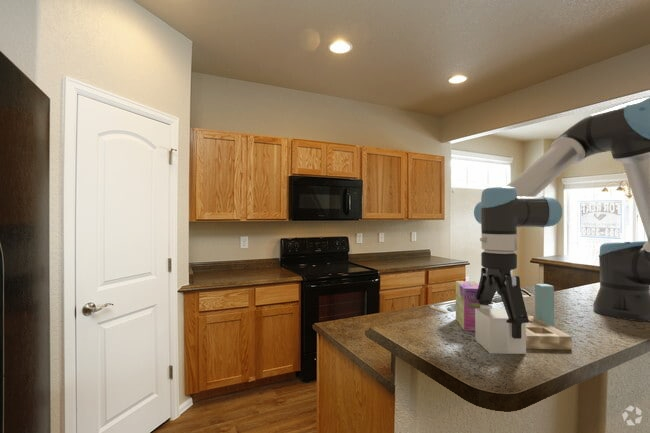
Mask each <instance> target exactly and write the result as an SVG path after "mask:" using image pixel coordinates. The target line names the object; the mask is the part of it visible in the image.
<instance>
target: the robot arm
mask: <svg viewBox="0 0 650 433" xmlns="http://www.w3.org/2000/svg"><path fill="white" fill-rule="evenodd" d="M607 152H610V153H611V155H612V160H614V161H618V162H619V163H621V164H622V166H623V168H624V171H625V175H626V178H627V182H628V184H629V186H630V190H631V193H632V196H633V200H634V202H635V204H636V207H637V211H638V213H639V214H638V215H639V217H640V220H641V223H642V226H643V229H644V232H645V235H646V239H647V240H640V241H619V242H605V243H602V244H601V245H600V247H599V254H598V260H599V289H598V291H597V294H596V296H595V299H594V301H593V311H594V312H596V313H598V314H601V315H605V316H608V317H612V318H618V319H623V320H630V321H640V322H641V321H642V322H650V97H649V96H648V97H645V98H642V99H636V100H632V101H630V102H626V103H624V104H621V105H618V106H614V107H611V108H609V109H605V110H603V111H599V112H595V113H593V114H590V115H588V116H586V117H584V118H582V119H581V120H579V121H577V122H575V123H574V125H572V126H570V127H569V128H568V129H566V131H565V130H564V132H562V133H561V134H560V135H558V137H557V138H555V140H552V142H551V145H550V148H549V149H548V150H547V151H545V152H544V153H543V154H542V155H540V157H539V158H537V159H536V160H535V161H534V162H533V163H531V164H530V165H529V166H528V167H527V168H526V169H524V171H522V172H521V173H520V174H519V175H518V176H516V177H515V178H514V179H513V180H512V181H511V182H510V183H508V184H507V185H506V186H502V187H501V186H498V187H487V188H484V189H483V190H482V192H481V196H480V198H481V199H480V201H479V202H477V203H476V205H475V207H474V209H473V216H474V218H475V220H476V222H477V223H478V224H480V228H481V232H480V234H481V237H480V238H479V242H481V250H483V251H482V252H481V253H480V254H481V255H480V256H481V258H480V259H481V260H480V261H481V262H480V264H481V269H480V278H479V282H478V285H479V286H478V291H477V295H476V299H477V300H479V303H480V304H481V305H480V308H484V309H493V305H494V303H493V298H494V297H495V295H496V293H497V294H498V296H500V298H501V301H502V303H503V306H504V309H505V310H506V312H507V315H508V318H509V319H508V320H507V321H506V322H507V351H508V352H516V353H522V336H521V325H522V323H528V322H529V319H528V316H529V315H528V313H527V312H528V311H527V308H526V304H525V300H524V296H523V293H522V289H521V281H520V276H519V275H512V273H511V271H512V270H516V269H517V268H518V257H517V256H518V255H517V253H515V252H516V251H517V250H518V248H517V247H518V233H517V232H518V228H520V227H521V228H524V227H525V228H546V227H548V228H550V227H554V226H555V225H557V224H558V223H559V222H560V221H561V219H562V217H563V207H562V205H561V203H560V202H559V201H558V199H556V198H554V197H549V196H548V197H547V196H542V195H541V196H538V195H539V194H540V193H542V191H544V190H545V188H547V187H549V185H551V183H553V182H554V181H555V180H556V179H557V178H558V177H560V176H561V175H562V174H563V173H564V172H565V171H566V170H568V169H569V168H570V167H571V166H573V165H577V164H580V163H581V162H583V160H585V159H586V158H588V157H590V156H594V155H596V154H601V153H607ZM481 294H482V295H481Z"/></svg>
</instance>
